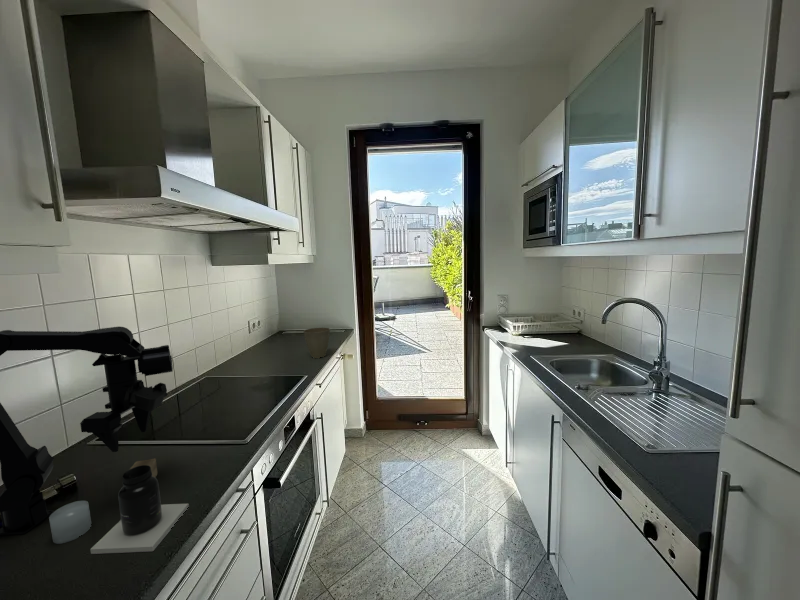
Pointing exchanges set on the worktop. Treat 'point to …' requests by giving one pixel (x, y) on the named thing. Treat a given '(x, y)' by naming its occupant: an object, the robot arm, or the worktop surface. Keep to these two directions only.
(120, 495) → the supplement bottle
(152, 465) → the oak block
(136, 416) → the robot arm
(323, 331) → the plant pot
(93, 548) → the plate
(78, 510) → the blue-grey rounded cylinder
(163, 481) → the worktop surface
